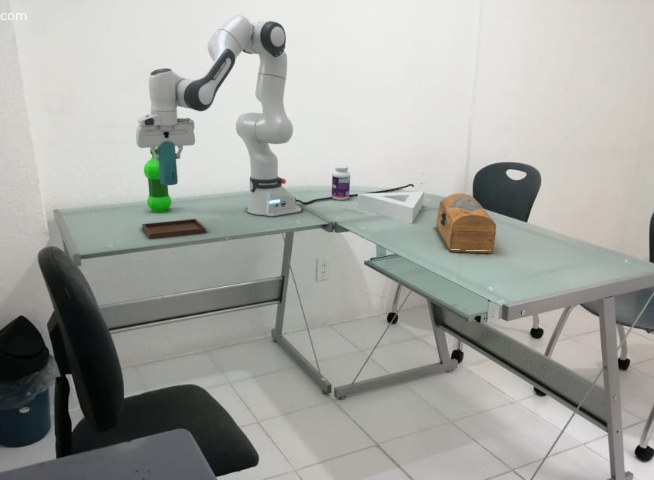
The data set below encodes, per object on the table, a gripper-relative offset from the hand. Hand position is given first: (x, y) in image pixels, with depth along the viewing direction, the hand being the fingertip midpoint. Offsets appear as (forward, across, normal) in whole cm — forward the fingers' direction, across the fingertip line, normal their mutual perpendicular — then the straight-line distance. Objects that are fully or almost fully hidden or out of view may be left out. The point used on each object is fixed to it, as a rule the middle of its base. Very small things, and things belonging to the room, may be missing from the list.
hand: (167, 159), depth 214 cm
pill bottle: (+27, -82, -21) cm, 88 cm away
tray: (+26, 0, +2) cm, 26 cm away
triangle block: (+27, -98, +6) cm, 101 cm away
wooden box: (+26, -94, +50) cm, 110 cm away
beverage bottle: (+10, 0, 0) cm, 10 cm away
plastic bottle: (+26, -1, -28) cm, 39 cm away
